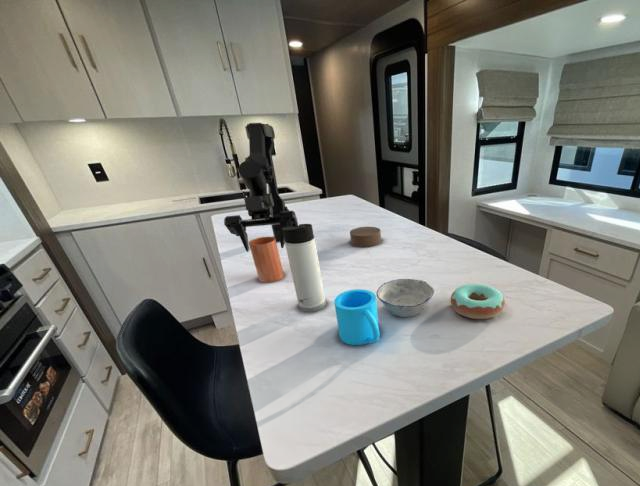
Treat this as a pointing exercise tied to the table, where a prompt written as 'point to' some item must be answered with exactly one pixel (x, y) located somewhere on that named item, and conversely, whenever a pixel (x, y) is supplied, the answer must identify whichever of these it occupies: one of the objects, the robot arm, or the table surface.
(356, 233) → the stand
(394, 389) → the table surface
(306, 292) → the travel mug
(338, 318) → the mug
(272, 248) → the cup
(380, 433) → the table surface
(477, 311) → the donut
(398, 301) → the bowl
